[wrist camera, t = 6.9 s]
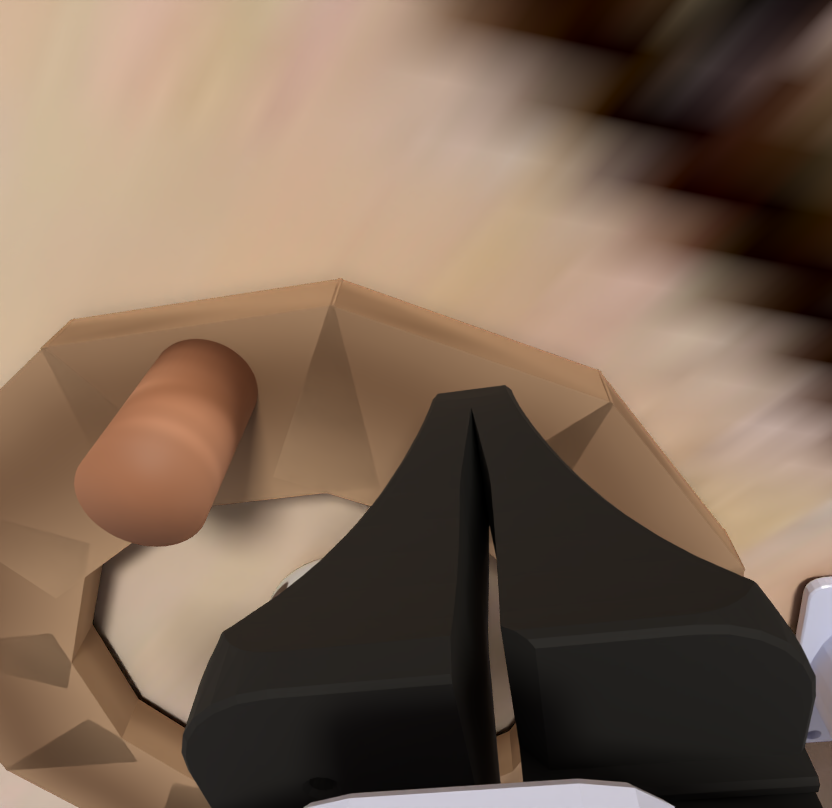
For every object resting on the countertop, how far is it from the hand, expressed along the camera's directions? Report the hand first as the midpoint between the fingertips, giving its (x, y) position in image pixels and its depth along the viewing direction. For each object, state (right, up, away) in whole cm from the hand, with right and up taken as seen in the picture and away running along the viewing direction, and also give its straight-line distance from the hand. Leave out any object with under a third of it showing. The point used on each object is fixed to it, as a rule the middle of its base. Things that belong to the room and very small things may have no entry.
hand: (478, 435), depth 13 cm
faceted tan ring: (-4, -7, +11) cm, 13 cm away
